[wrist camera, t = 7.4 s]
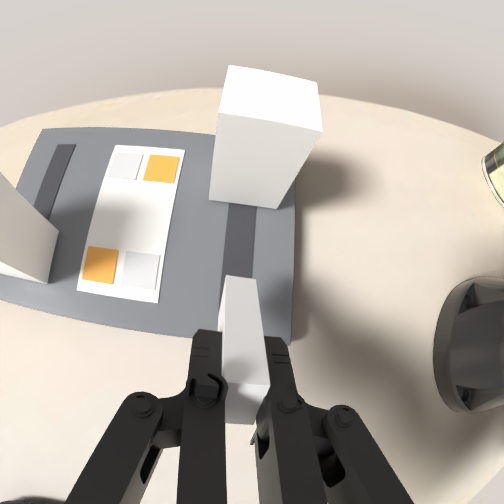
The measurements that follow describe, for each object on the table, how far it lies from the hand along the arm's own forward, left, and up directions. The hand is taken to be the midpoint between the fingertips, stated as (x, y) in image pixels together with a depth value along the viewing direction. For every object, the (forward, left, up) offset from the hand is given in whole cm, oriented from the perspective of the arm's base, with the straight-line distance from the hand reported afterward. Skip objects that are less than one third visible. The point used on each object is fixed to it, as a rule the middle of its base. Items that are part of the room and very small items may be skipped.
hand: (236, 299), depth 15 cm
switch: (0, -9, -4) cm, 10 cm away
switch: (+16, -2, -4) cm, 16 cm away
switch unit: (+8, -6, -6) cm, 11 cm away
